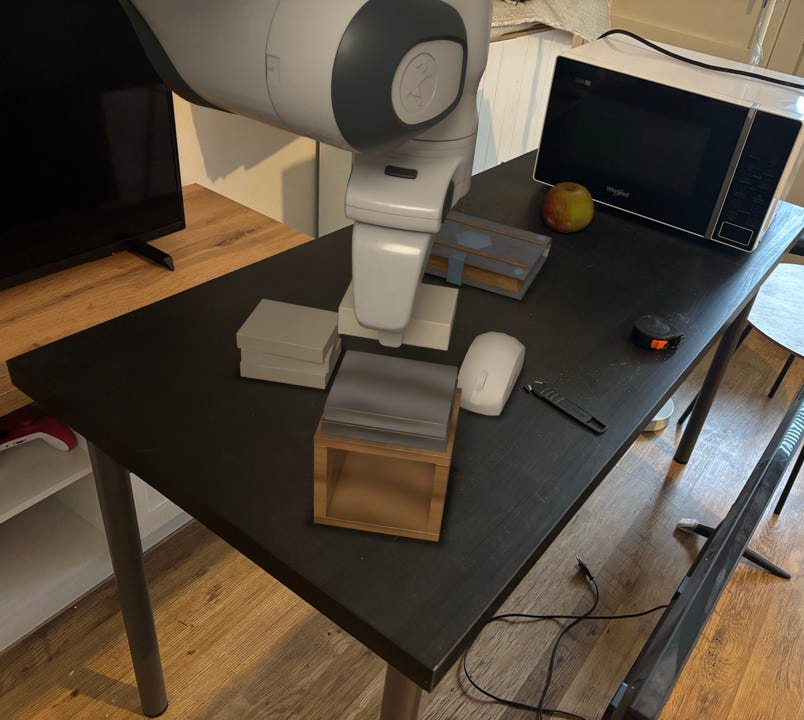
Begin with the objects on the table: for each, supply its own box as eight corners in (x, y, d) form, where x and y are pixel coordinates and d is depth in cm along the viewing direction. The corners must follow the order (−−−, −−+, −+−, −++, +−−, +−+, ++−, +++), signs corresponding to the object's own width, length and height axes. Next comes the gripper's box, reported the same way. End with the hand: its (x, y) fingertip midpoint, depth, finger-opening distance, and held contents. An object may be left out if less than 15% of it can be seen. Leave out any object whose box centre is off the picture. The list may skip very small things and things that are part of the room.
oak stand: (438, 541, 70) (454, 431, 62) (313, 522, 70) (313, 410, 62) (450, 469, 78) (465, 363, 70) (338, 452, 78) (341, 344, 70)
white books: (326, 392, 86) (326, 350, 83) (237, 378, 86) (233, 335, 82) (344, 349, 93) (345, 309, 90) (261, 336, 93) (259, 295, 90)
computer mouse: (447, 406, 87) (453, 363, 83) (479, 349, 97) (485, 309, 94) (499, 422, 86) (507, 379, 82) (526, 362, 96) (534, 322, 93)
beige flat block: (447, 351, 60) (450, 325, 58) (337, 333, 60) (338, 307, 58) (455, 313, 65) (458, 288, 63) (353, 297, 65) (355, 272, 63)
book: (548, 258, 121) (553, 230, 118) (519, 303, 108) (525, 274, 105) (430, 225, 125) (433, 198, 122) (389, 265, 112) (391, 235, 109)
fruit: (538, 213, 135) (546, 172, 131) (587, 220, 136) (596, 179, 131) (538, 236, 128) (547, 193, 123) (590, 244, 128) (600, 201, 123)
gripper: (395, 111, 63) (384, 256, 70) (337, 205, 46) (332, 382, 54) (468, 123, 63) (450, 267, 70) (438, 222, 46) (418, 396, 54)
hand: (399, 318), depth 62 cm, fingers closed on beige flat block, 6 cm apart
